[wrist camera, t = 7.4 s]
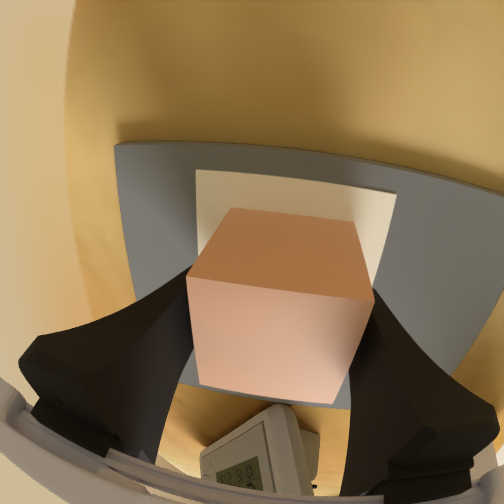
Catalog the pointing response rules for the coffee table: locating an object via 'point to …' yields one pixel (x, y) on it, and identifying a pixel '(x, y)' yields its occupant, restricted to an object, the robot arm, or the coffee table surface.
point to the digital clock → (265, 455)
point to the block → (279, 305)
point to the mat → (331, 207)
